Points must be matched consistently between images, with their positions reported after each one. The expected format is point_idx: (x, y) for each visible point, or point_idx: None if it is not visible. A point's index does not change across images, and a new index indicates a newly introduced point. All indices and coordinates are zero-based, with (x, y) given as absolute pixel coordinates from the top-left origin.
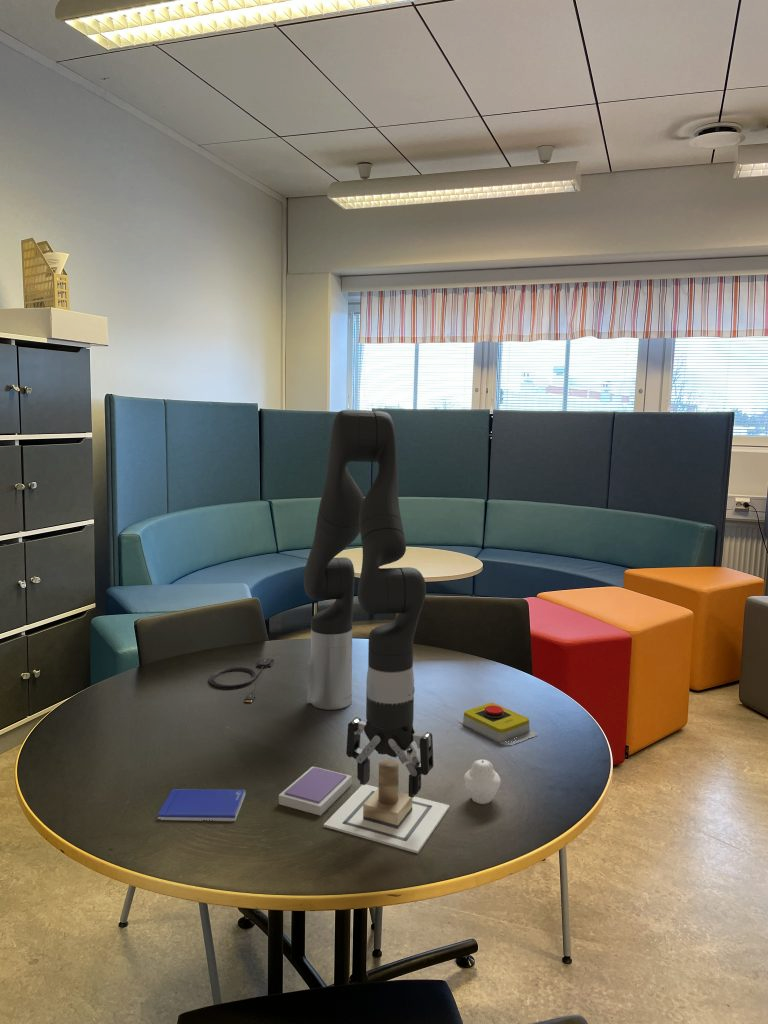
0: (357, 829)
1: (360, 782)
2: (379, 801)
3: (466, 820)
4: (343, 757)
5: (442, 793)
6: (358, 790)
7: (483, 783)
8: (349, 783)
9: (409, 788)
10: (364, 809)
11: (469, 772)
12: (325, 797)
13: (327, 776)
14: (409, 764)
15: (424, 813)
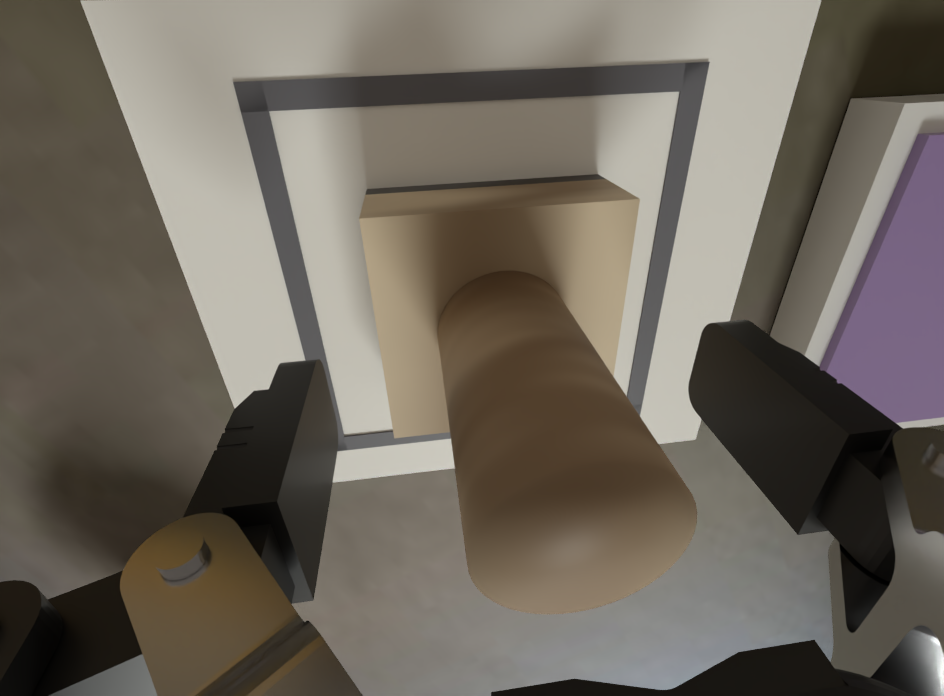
0: (592, 45)
1: (748, 323)
2: (545, 281)
3: (133, 443)
4: (812, 534)
5: (359, 538)
6: None
7: None
8: None
9: (294, 400)
10: (615, 191)
11: None
12: (881, 215)
13: (894, 383)
14: (210, 662)
15: None
